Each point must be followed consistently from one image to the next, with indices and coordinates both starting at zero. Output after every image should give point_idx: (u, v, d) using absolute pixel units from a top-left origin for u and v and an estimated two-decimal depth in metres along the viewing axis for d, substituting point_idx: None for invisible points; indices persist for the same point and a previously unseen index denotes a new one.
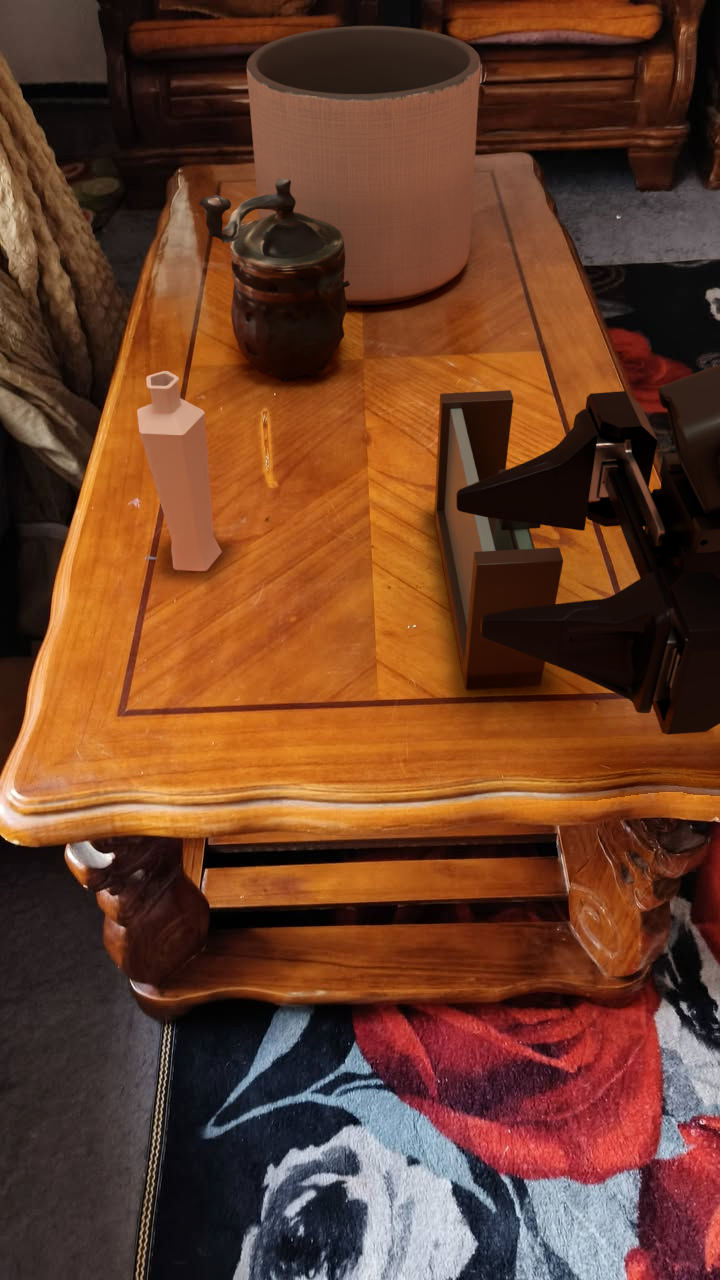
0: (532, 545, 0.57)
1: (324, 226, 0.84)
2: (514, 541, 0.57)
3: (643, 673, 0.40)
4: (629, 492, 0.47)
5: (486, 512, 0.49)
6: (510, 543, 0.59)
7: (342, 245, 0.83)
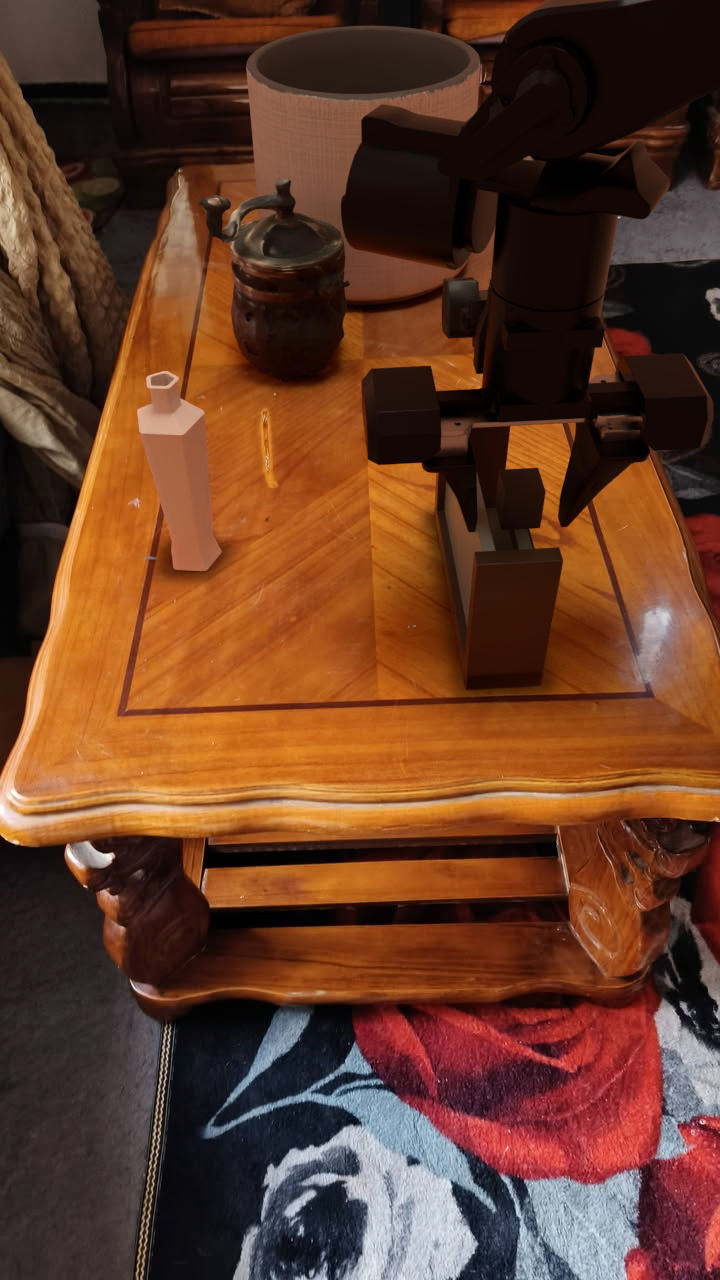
0: (532, 545, 0.57)
1: (324, 226, 0.84)
2: (514, 541, 0.57)
3: None
4: None
5: (565, 511, 0.58)
6: (510, 543, 0.59)
7: (342, 245, 0.83)
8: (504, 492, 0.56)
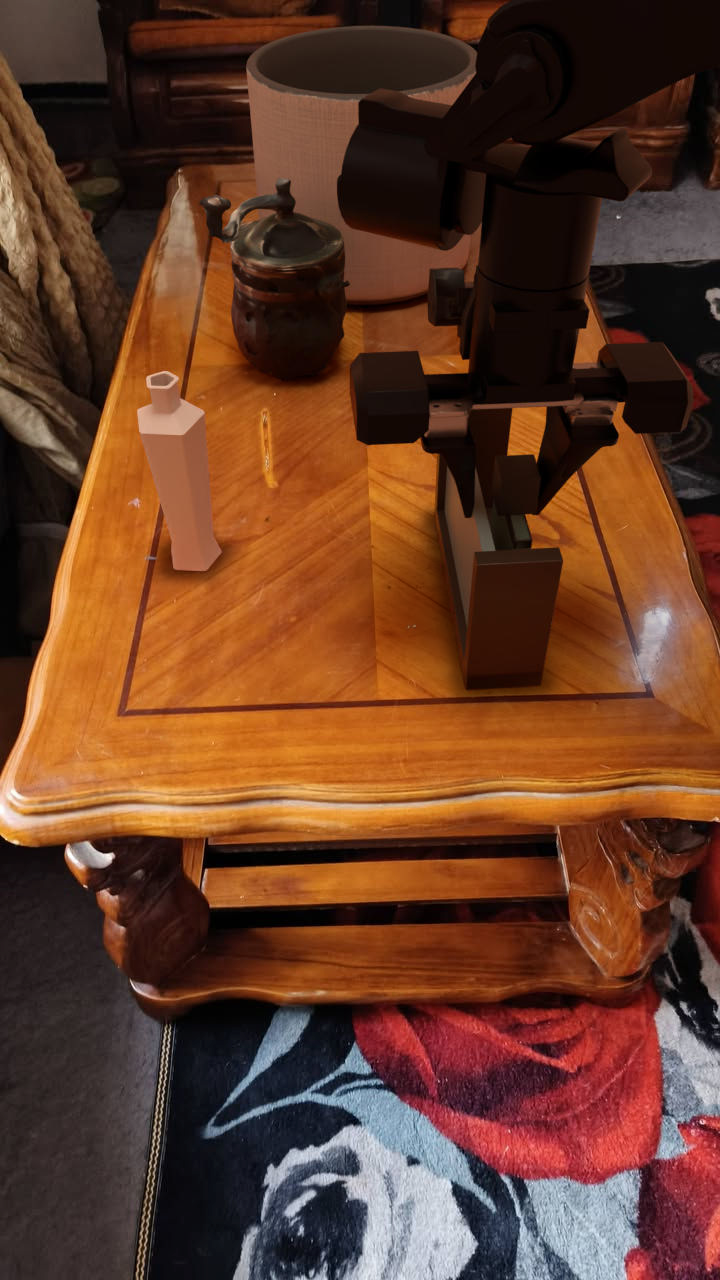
0: (528, 530, 0.58)
1: (324, 226, 0.84)
2: (510, 526, 0.58)
3: None
4: None
5: None
6: (506, 529, 0.60)
7: (342, 245, 0.83)
8: (500, 478, 0.57)
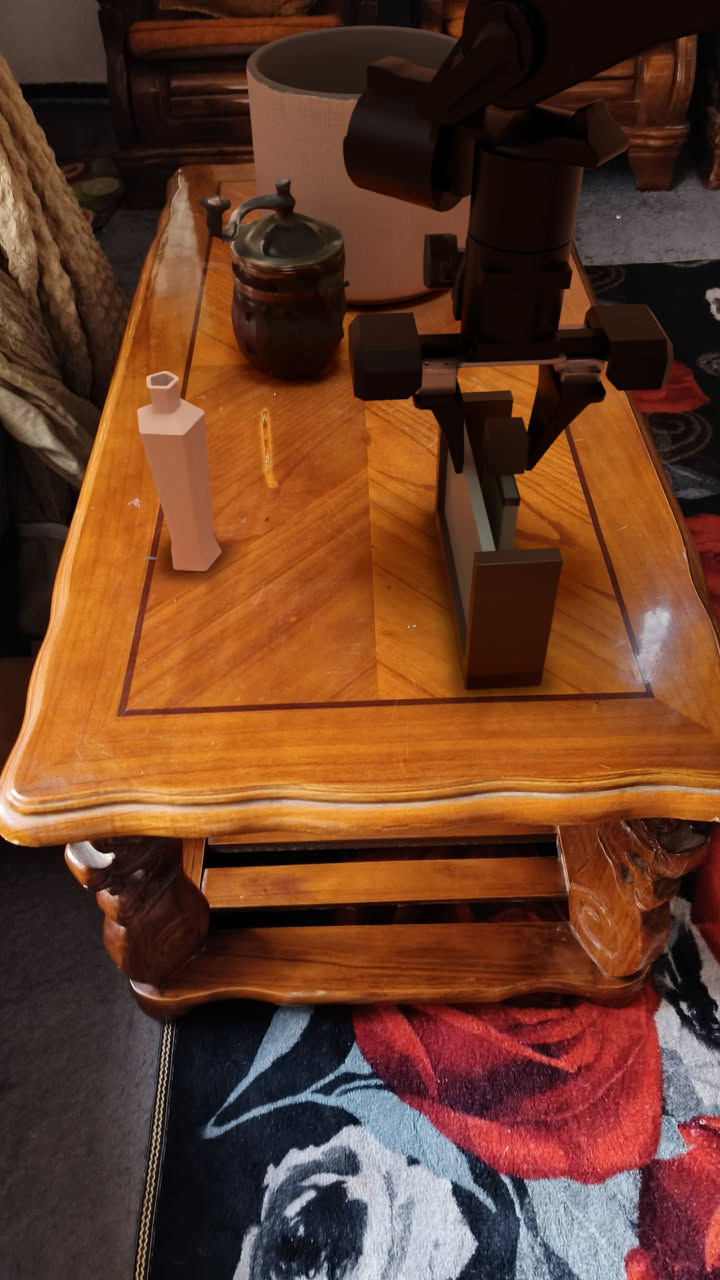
0: (516, 489, 0.61)
1: (324, 226, 0.84)
2: (499, 485, 0.61)
3: None
4: None
5: (529, 454, 0.62)
6: (496, 489, 0.63)
7: (342, 245, 0.83)
8: (490, 438, 0.60)
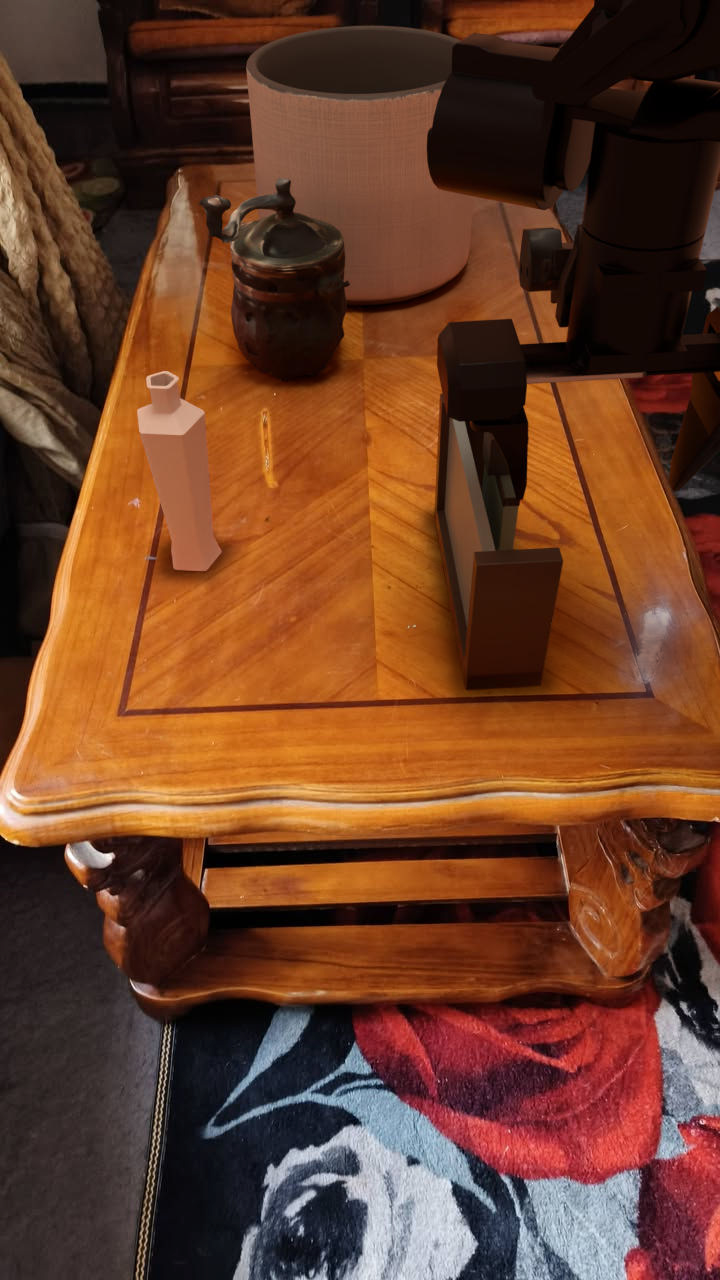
0: None
1: (324, 226, 0.84)
2: (499, 485, 0.61)
3: None
4: None
5: (679, 473, 0.55)
6: (496, 489, 0.63)
7: (342, 245, 0.83)
8: (490, 438, 0.60)
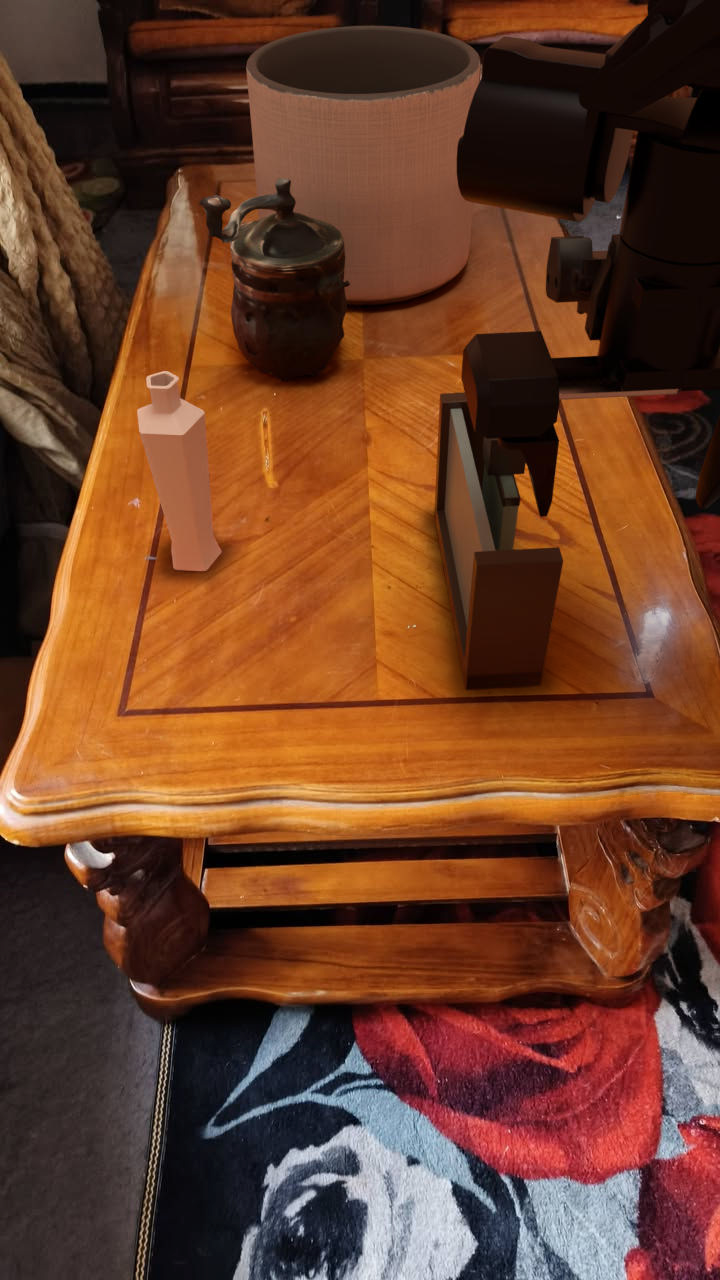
0: (516, 489, 0.61)
1: (324, 226, 0.84)
2: (499, 485, 0.61)
3: None
4: None
5: (708, 490, 0.53)
6: (496, 489, 0.63)
7: (342, 245, 0.83)
8: None
